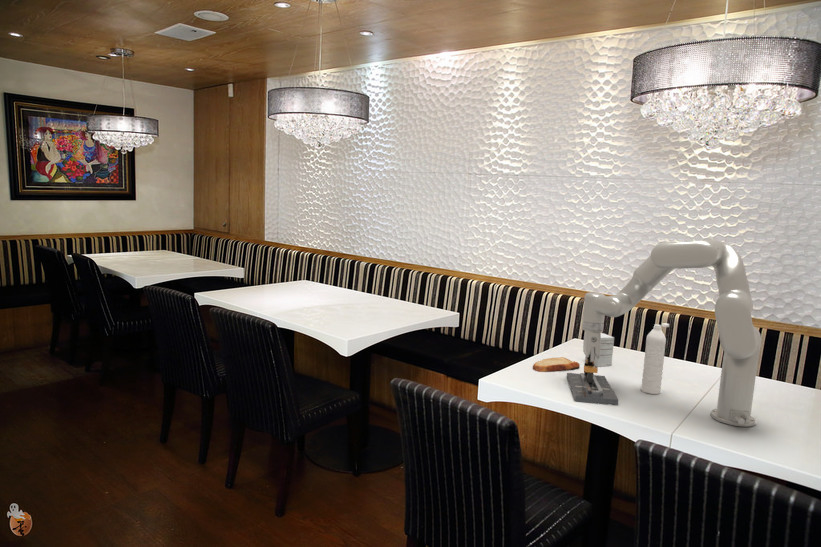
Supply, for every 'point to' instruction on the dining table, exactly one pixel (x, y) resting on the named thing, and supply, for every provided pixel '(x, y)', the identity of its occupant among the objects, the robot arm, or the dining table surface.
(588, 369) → the fader tab
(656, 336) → the water bottle
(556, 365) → the bread slice
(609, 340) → the supplement box
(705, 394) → the dining table surface
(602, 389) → the console
